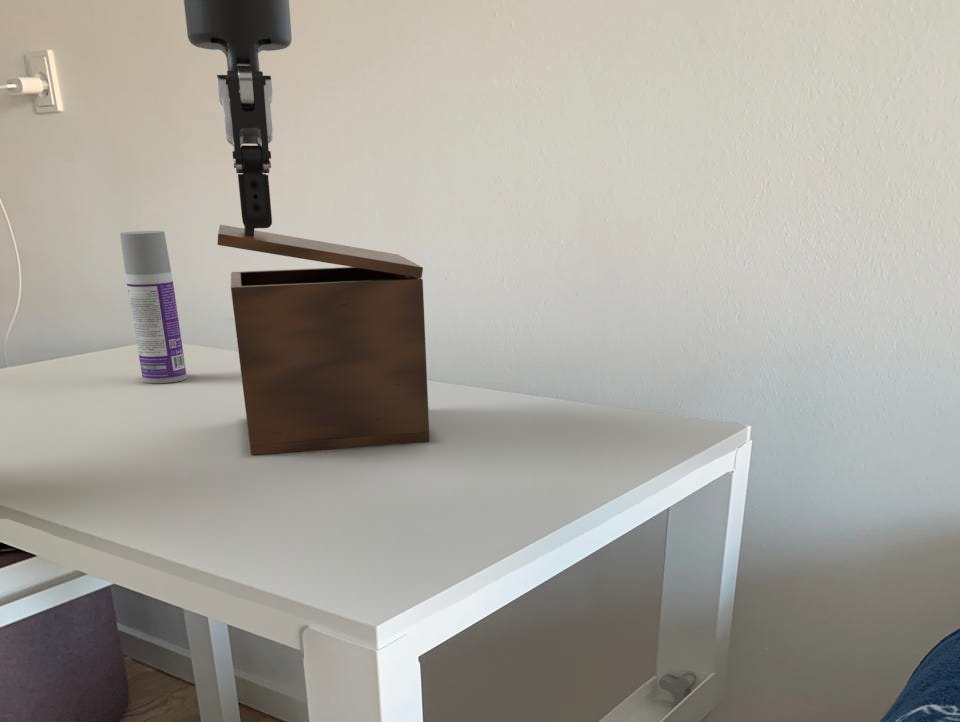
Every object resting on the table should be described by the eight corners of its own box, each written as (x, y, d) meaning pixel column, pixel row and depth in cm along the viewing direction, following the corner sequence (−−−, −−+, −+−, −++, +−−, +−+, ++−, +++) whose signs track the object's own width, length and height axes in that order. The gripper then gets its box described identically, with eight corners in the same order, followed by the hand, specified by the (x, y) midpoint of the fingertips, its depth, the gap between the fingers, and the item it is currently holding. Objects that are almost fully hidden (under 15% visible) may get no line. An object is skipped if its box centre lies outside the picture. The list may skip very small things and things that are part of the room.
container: (175, 373, 113) (154, 230, 107) (194, 379, 110) (173, 231, 103) (135, 379, 110) (111, 232, 104) (153, 385, 107) (129, 234, 101)
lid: (217, 245, 74) (221, 170, 72) (219, 234, 85) (223, 170, 83) (421, 278, 78) (431, 209, 76) (398, 264, 89) (405, 203, 87)
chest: (251, 455, 81) (230, 287, 75) (248, 420, 92) (230, 271, 86) (429, 441, 83) (422, 279, 78) (406, 409, 94) (398, 264, 89)
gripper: (184, -15, 78) (210, 222, 85) (175, -50, 65) (206, 232, 72) (282, -12, 79) (299, 221, 86) (292, -46, 66) (311, 230, 74)
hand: (256, 224), depth 79 cm, fingers closed on lid, 5 cm apart
